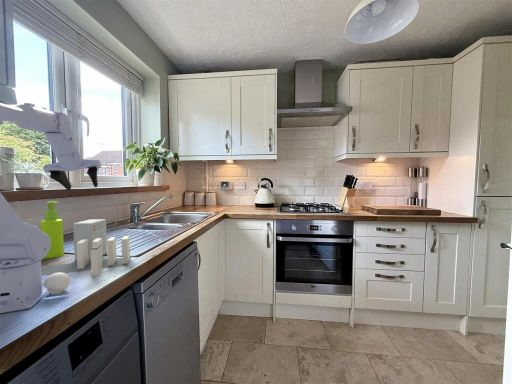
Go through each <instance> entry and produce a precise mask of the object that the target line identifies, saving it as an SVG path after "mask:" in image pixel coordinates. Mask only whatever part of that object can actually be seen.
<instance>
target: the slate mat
mask: <svg viewBox="0 0 512 384" xmlns="http://www.w3.org/2000/svg"><path fill="white" fill-rule="evenodd" d="M116 258H117V260H116V262H115V264H114V265H108V258H106V259H103V262H102V270H104V269H108V268H109V269H111V268H119V267H126V266H128V265H129V264H130V260H131V258H132V256H130V260H129V262H128V263H125V264H122V257H116ZM41 269H42V277H43V276H50V275H51V274H54V273H58V272H62V273H65V274H69V273H76V272H77V273H78V272H85V271H91V260H88V264H87V265H86V266H85V268H82V269H77V262H69V263H62V264H52V265H51V264H50V265H45V266H44V267H42V268H41Z"/></svg>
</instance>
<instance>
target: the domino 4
mask: <svg viewBox="0 0 512 384" xmlns="http://www.w3.org/2000/svg"><path fill="white" fill-rule="evenodd" d="M106 255H107V259H108V265H114V264H115V262H116V260H117V258H118V257H117V238H116V236H112V237H109V238H108V239H107V253H106Z"/></svg>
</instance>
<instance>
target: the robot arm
mask: <svg viewBox="0 0 512 384" xmlns="http://www.w3.org/2000/svg"><path fill="white" fill-rule="evenodd" d="M4 122H8V123H14V124H15V125H16V126H17V127H19V128H20V129H23V130H27V131H36V132H38V133H40V134H41V133H44V136H45V138H46V139H47V141H48V143H49V145H50V146H49V147H50V148H51V150H52V151H53V154H54V155H55V157H56V159H57V162H53V163H48V164H44V165H43V167H42V169H43V171H44V173H45V174H50V175H49V177H50V179H52V180H54V181H56V182H57V183H59V184H60V185H61V186H63V188H65V190H67V191H71V188H72V184H71V182H70V180H69V178H68V177H67V174H66V172H74V171H79V170H82V169H87V172H86V173H87V175H88V176H89V178H90V180H91V182H92V185H93V187H94V188H98V185H99V183H98V170H99V169H101V168H102V163H101V161H100V160H99V159H85V158H84V159H83V158H82V156H81V153H80V151H79V148H78V146H77V144H76V142H75V140H74V138H73V136H74V132H73V130H72V121H71V118H69V116H68V115H67V114H66V113H64V112H62V111H52V110H49V108H47V107H36V105H35V104H34V103H33V102H32V103H30V102H24V103H23V104H19V105H16V106H12V105H9V104H6V103H5V104H4V103H1V102H0V126H1V125H3V124H4ZM50 246H51V241H50V238H49V236H48V235H47V234H46V233H44V232H42V231H41V228H39V226H37V225H34V224H32V223H30V222H26V221H23V220H21V219H20V217H19V215H17V213H16V211H15V210H14V209H13V208H12V206H11V205H10V204H9V202H8V201H7V199H6V198H5V197H4V196H3V193H1V192H0V314H3V313H9V312H16V311H22V310H27V309H28V310H29V309H31V308H33V306H35V305H36V304H37V303H38V302H39V301H40V300H42V298H43V297H44V296H45V295H46V294H47V293H49V292H48V288H46V287H44V288H43V276H42V269H43V268H42V260H43V259H46V258H45V256H46V254H47V253H48V252H49V250H50Z"/></svg>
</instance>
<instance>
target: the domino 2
mask: <svg viewBox="0 0 512 384" xmlns="http://www.w3.org/2000/svg"><path fill="white" fill-rule="evenodd" d="M95 244H101V248H102V238H96V239H95V240H94V241H93V242H92V247H93V246H94V245H95ZM103 256H104V254H102V262H103V260H104V259H103V258H104V257H103Z"/></svg>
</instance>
